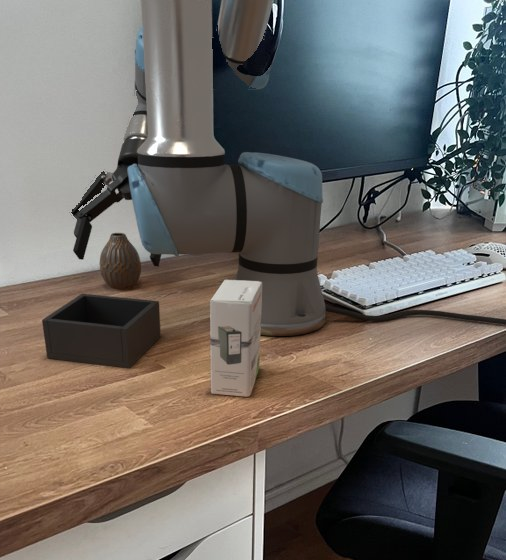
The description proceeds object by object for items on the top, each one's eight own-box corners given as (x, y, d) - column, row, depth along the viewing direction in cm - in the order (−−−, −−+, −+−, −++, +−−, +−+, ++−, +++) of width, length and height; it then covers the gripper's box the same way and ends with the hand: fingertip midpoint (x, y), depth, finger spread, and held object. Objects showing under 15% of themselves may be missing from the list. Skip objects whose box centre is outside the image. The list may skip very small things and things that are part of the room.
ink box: (223, 366, 89) (223, 277, 84) (260, 369, 89) (263, 279, 83) (209, 394, 82) (208, 298, 76) (250, 398, 82) (252, 301, 76)
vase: (144, 290, 117) (141, 238, 112) (102, 293, 115) (98, 239, 111) (139, 279, 123) (136, 228, 118) (100, 281, 121) (95, 230, 117)
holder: (160, 337, 98) (159, 301, 95) (129, 368, 88) (126, 329, 86) (85, 328, 100) (81, 293, 98) (46, 358, 91) (41, 319, 88)
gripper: (216, 169, 121) (192, 276, 116) (85, 161, 126) (56, 264, 121) (207, 139, 114) (181, 252, 109) (69, 132, 119) (37, 240, 114)
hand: (115, 258), depth 115 cm, fingers open, 13 cm apart
